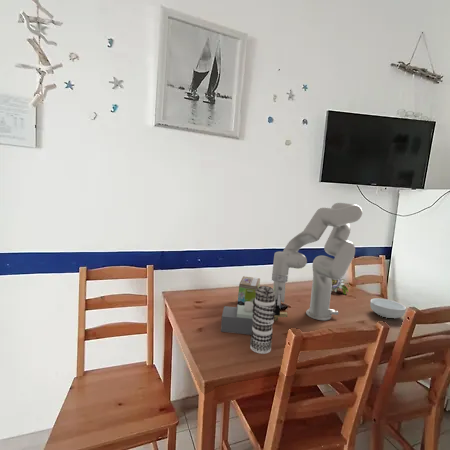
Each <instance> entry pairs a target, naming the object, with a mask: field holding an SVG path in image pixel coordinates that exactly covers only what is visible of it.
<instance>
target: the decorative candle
mask: <svg viewBox="0 0 450 450" xmlns="http://www.w3.org/2000/svg"><path fill="white" fill-rule="evenodd" d="M255 292H256V297H255V299H254V300H253V304H254V305H253V315H252V316H253V318H252V319H253V326H252V331H251V335H250V336H251V337H250V343H249V344H250V346H249V348H250V350H251V351H253V352H254V353H256V354H261V355H265V354H269V353H270V352H271V351H272V343H273V340H272V339H273V324H274V322H275V320H274V315H275V313H274V312H273V311H275V310H276V308H275V307H276V304H275V294H276V292H275V291H274V290H273V287H271V286H267V285H260V286H259V288H258V289H256V290H255ZM254 311H255V312H254Z"/></svg>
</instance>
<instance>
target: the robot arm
mask: <svg viewBox="0 0 450 450" xmlns="http://www.w3.org/2000/svg"><path fill="white" fill-rule="evenodd" d="M362 215H363V210H362V207H361V206H360V205H358V204H356V203H346V202H337V203H334V204H332V206H331V208H330V207H320V208H318V209H317V210H316V212H315V213H314V214H313V215H312V217H311V219H310V220H309V222H308V224H307V225H306V226H305V228H304V229H303V231H301V232H300V233H298V234H297V235H295V236H294V237H293V238H292V239H290V240H289V241H288V242H287V244H286V245H285V247H284V249H283V251H276V252H274V256H273V265H272V273H271V274H272V275H271V281H273V286H272V288H273V290H274V291H275V292H276V294H275V304H276V307H275V308H276V310H275V311H273V312H274V313H275V315H278V316H279V315H280V312H281V304H284V303H285V297H286V295H285V294H286V283H288V279H289V271H290V268H291V269H302V268H304V267H305V266H306V265H307V263H308V260H307V257H306V256H305V254H303V253H301V252H299V250H301V248H302V247H304V246H306V245H308V244H312V243H316V242H318V241H319V240H321V237H322V236H323V234H324V232H325V231H326V230H327V228H328V227H332V229H331V231H330V234H329V236H328V237H327V239H326V242H325V244H324V247H323V249H324V252H325V253H326V254H327V255H329V256H333V257H334V258H332V257H329V256H326V255H318V256H316V257H315V258H314V259H313V261H312V284H311V294H310V302H309V308H308V309H307V310H306V311H305V312H306V316H307V317H308V318H311V319H314V320H317V321H329V320H331V319H332V315H336V316H339V311H338V310H335V309H331V308H330V303H331V295H332V292H331V288H332V279H333V280H339V279H343V278H344V276H345V275H346V273H347V271H348V269H349V267H350V265H351V263H352V261H353V259H354V257H355V255H356V246H355V244H354V243H353V242H352V241H350V240H348V239H349V236H350V234H351V224H352V223H355V222H358V221H359V220H360V219H361V217H362Z"/></svg>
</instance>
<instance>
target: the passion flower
mask: <svg viewBox="0 0 450 450" xmlns="http://www.w3.org/2000/svg"><path fill="white" fill-rule="evenodd" d="M345 281H346V279H344V278H341V279H339V280H333V279H332V288H331V293H332V292H335V293H337V292H338V290H339V291H340V289H341V290H342V293H343V294H344V295H345V296H346V295H347V293H349V289H348V288H350V284H349V283H348V282H346V283H344V282H345ZM346 284H347V285H348V287H347V286H346Z"/></svg>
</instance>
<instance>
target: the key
mask: <svg viewBox="0 0 450 450" xmlns="http://www.w3.org/2000/svg"><path fill="white" fill-rule="evenodd" d="M288 317H289V315H288V312H287V311H280V315H279V316H278V315H274V319H273V320H274V321H279V318H288Z"/></svg>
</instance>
